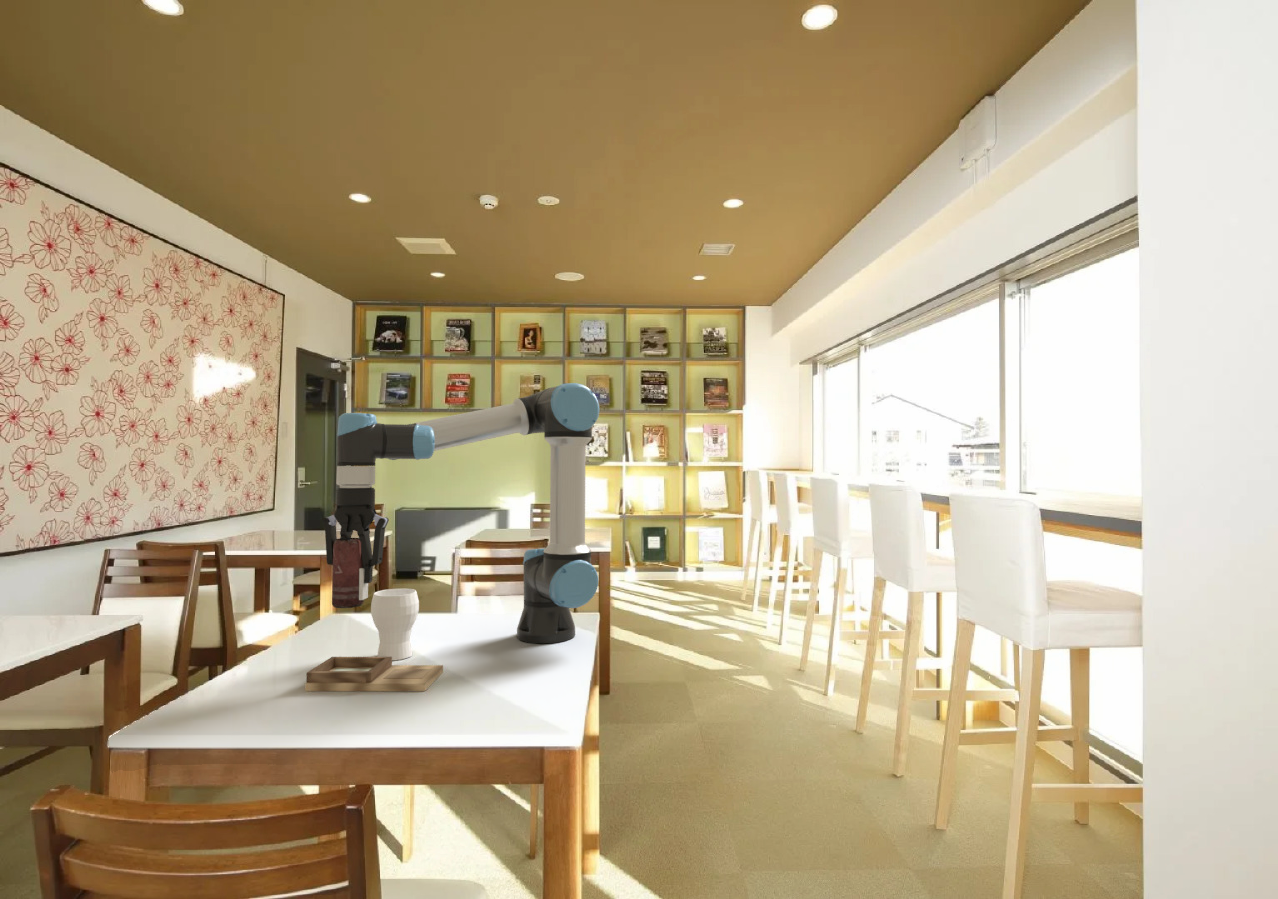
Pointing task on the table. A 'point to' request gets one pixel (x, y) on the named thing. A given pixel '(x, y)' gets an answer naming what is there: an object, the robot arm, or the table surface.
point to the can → (346, 573)
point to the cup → (395, 621)
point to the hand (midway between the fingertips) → (354, 598)
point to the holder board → (370, 675)
